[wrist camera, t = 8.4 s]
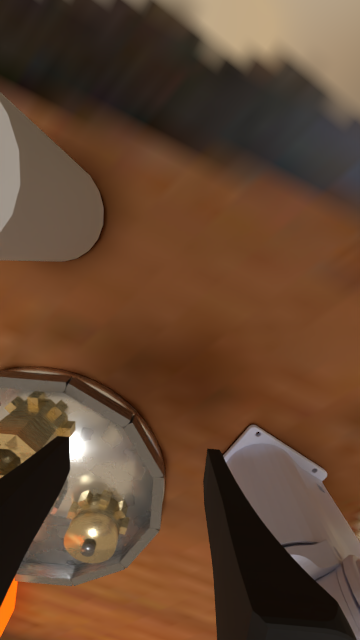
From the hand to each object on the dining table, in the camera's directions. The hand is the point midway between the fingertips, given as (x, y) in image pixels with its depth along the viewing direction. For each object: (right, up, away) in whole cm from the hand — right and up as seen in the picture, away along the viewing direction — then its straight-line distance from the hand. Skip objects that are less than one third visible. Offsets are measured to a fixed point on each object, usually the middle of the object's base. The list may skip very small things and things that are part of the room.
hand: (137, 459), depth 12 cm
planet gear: (-11, -2, +10) cm, 15 cm away
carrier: (-11, -9, +13) cm, 19 cm away
